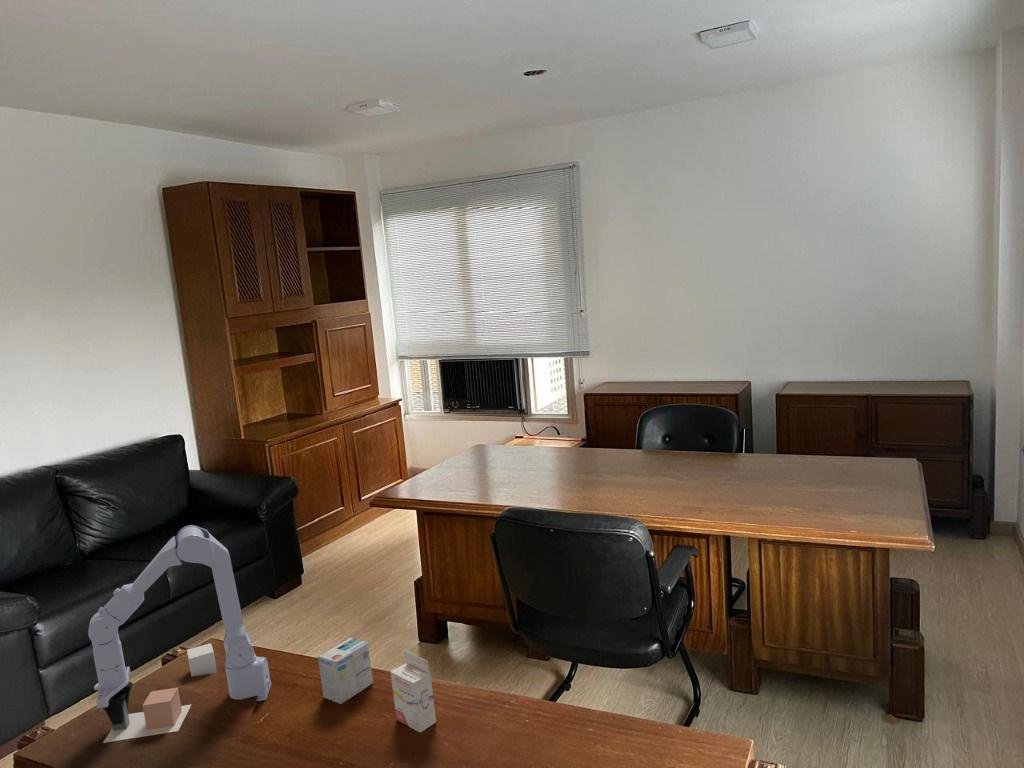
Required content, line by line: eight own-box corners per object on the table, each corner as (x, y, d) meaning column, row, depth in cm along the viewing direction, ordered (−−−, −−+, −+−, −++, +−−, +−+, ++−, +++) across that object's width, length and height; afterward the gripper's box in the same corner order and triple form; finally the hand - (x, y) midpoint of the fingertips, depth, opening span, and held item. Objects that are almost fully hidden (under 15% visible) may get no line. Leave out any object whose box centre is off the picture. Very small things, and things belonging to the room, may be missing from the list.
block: (182, 711, 182) (178, 687, 181) (174, 725, 176) (170, 701, 175) (155, 715, 181) (151, 691, 180) (146, 730, 175) (142, 705, 174)
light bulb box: (355, 676, 192) (350, 636, 191) (374, 683, 188) (369, 641, 187) (322, 698, 184) (316, 655, 182) (341, 705, 180) (335, 661, 178)
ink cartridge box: (394, 720, 171) (387, 658, 169) (412, 710, 175) (404, 649, 173) (420, 733, 166) (412, 669, 163) (437, 722, 169) (430, 659, 167)
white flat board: (192, 708, 184) (187, 680, 183) (178, 735, 173) (173, 706, 172) (121, 719, 182) (116, 691, 181) (103, 746, 172) (98, 717, 171)
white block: (190, 671, 204) (186, 649, 203) (214, 664, 206) (210, 642, 205) (192, 680, 198) (188, 658, 197) (217, 673, 201) (213, 651, 200)
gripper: (104, 652, 182) (113, 705, 184) (78, 683, 167) (88, 741, 169) (135, 647, 182) (144, 701, 184) (112, 678, 168) (122, 736, 170)
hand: (120, 720), depth 177 cm, fingers closed on white flat board, 2 cm apart
